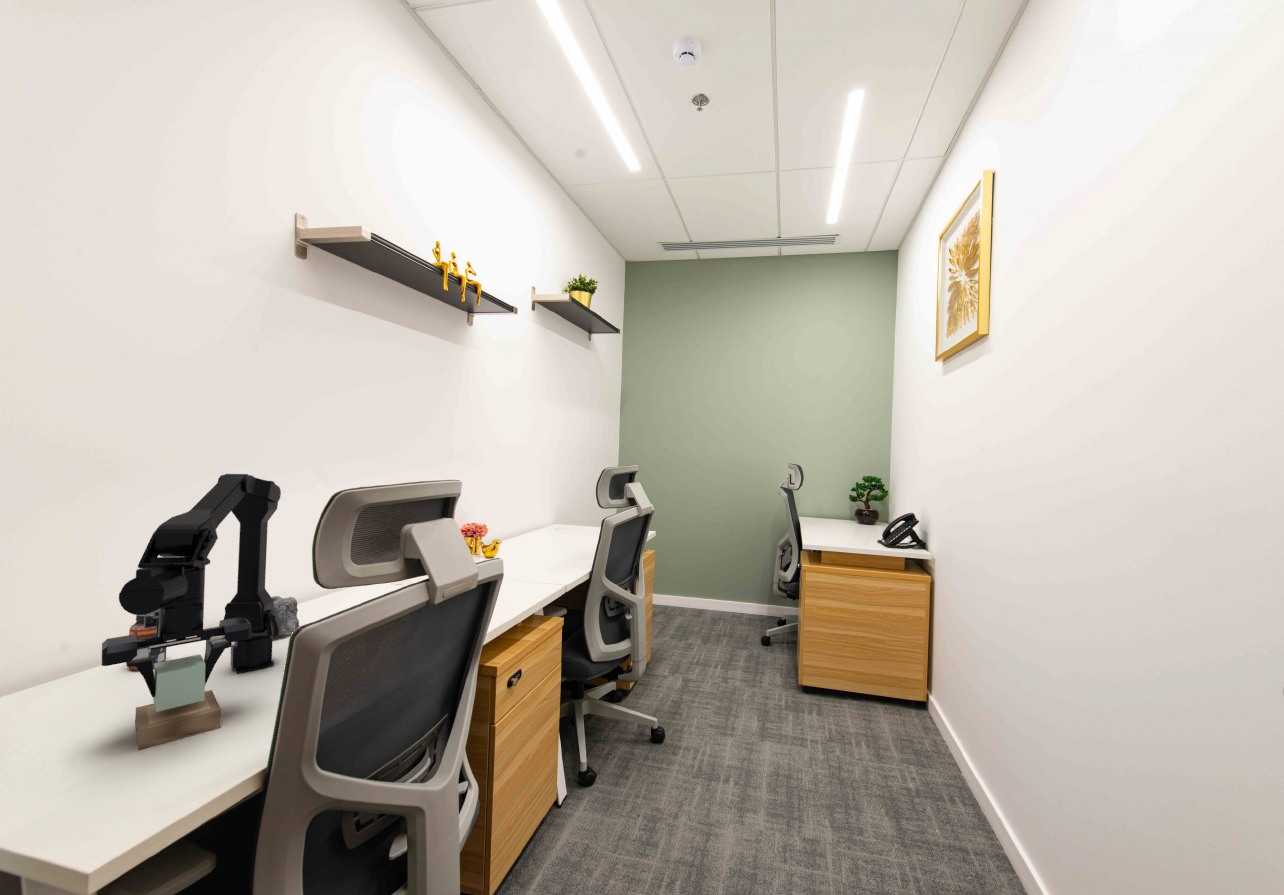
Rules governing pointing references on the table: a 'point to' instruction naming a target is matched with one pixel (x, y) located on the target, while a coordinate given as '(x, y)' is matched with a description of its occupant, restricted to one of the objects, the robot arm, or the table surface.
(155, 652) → the supplement bottle
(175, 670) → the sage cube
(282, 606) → the mineral rock
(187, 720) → the walnut base
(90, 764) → the table surface
